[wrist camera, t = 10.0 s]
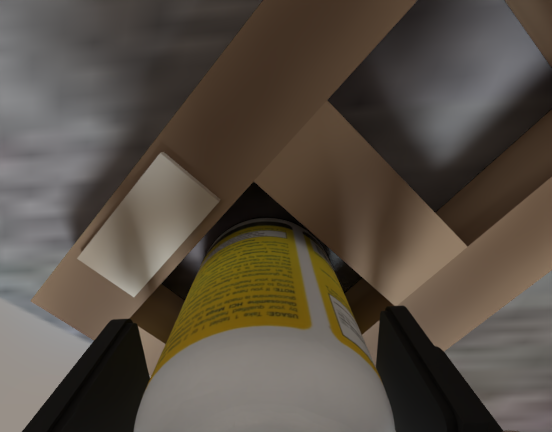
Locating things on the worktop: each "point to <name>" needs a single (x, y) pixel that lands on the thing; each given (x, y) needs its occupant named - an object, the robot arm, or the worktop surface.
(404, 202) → the socket rack
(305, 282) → the pill bottle
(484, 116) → the worktop surface
